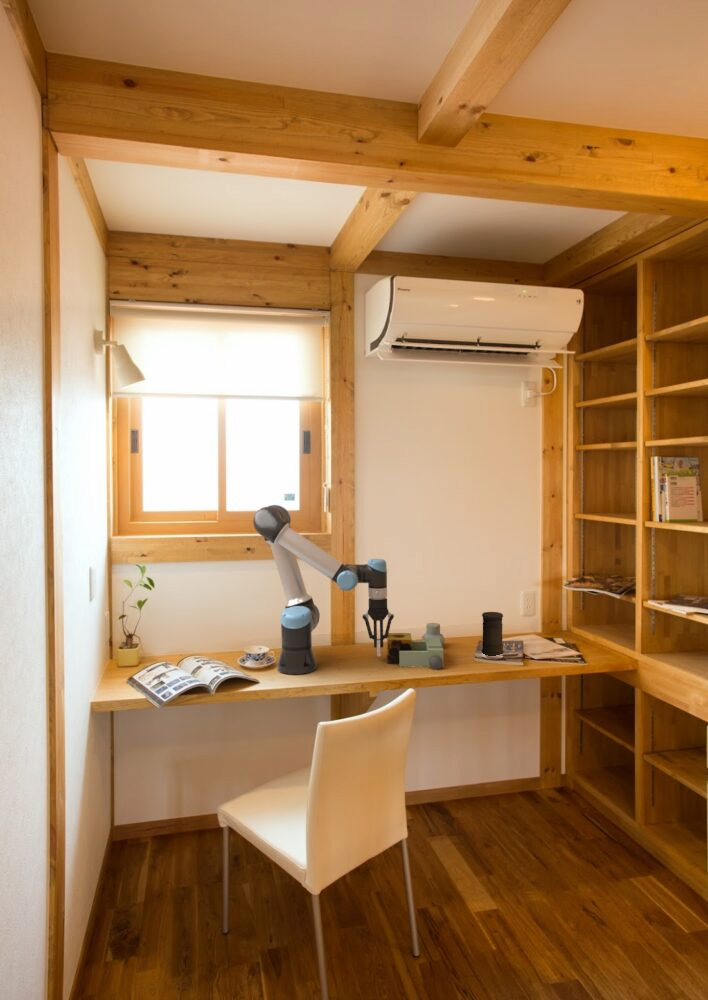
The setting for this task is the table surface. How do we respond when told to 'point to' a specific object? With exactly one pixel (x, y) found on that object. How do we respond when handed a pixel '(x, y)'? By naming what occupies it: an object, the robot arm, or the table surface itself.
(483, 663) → the table surface
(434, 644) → the green toy truck
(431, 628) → the air freshener
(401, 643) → the olive cube with hole
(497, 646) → the container
